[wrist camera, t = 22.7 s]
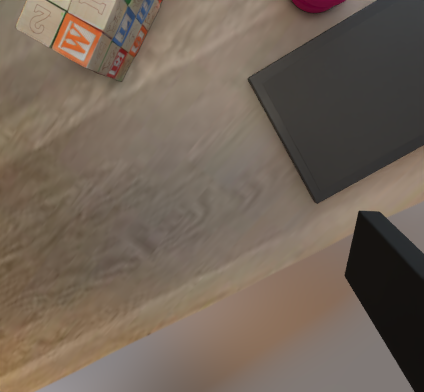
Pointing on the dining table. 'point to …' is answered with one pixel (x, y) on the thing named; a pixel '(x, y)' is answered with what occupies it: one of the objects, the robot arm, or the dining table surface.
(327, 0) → the pepper mill
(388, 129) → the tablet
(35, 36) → the stack of blocks
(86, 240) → the dining table surface
